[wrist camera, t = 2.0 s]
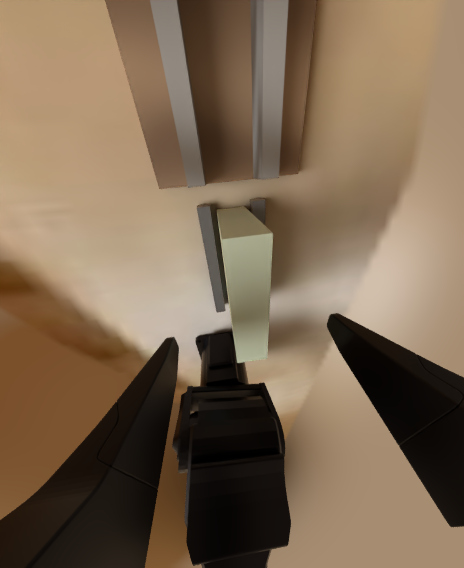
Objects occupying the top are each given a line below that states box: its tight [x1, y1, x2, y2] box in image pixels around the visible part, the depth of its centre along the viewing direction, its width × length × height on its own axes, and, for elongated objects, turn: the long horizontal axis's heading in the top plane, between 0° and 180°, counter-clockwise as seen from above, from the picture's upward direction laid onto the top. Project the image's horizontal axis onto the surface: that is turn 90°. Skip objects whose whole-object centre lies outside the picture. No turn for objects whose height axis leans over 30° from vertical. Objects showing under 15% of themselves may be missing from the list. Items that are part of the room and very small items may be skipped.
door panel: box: [217, 206, 273, 363], centre depth 14 cm, size 10×2×8 cm, turn 5°
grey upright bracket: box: [197, 198, 265, 312], centre depth 17 cm, size 11×5×1 cm, turn 5°
